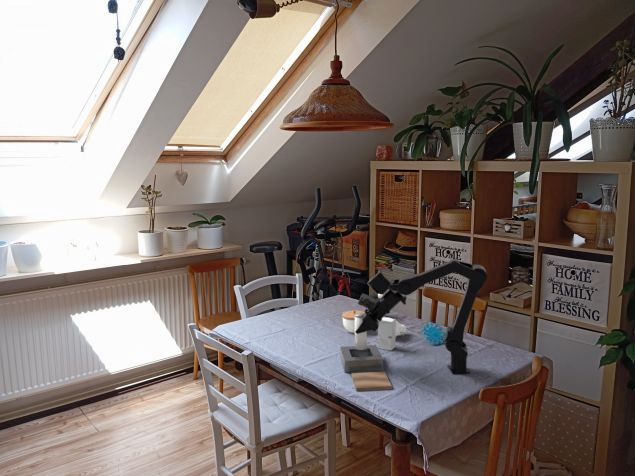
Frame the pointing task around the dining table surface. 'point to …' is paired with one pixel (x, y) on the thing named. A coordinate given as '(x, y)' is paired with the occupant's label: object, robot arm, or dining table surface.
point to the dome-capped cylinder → (361, 337)
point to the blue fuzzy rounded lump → (434, 333)
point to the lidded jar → (350, 320)
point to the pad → (371, 381)
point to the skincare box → (387, 333)
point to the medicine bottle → (375, 296)
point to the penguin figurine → (400, 329)
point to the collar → (361, 359)
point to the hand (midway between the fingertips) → (357, 330)
